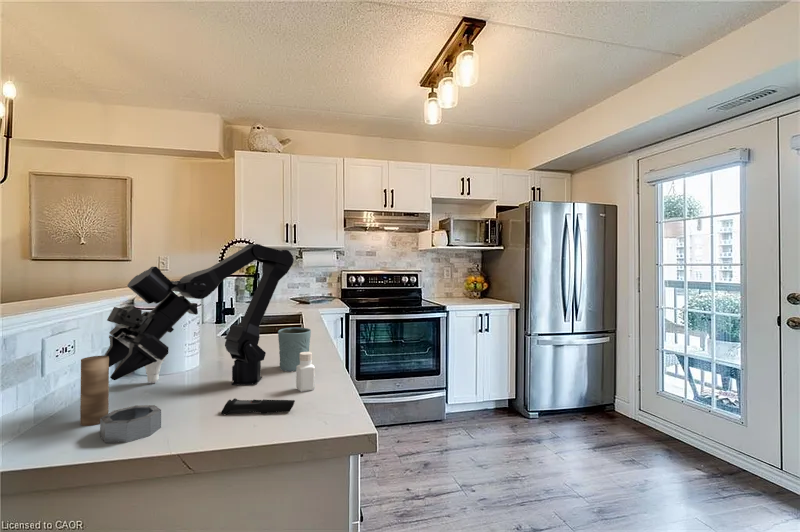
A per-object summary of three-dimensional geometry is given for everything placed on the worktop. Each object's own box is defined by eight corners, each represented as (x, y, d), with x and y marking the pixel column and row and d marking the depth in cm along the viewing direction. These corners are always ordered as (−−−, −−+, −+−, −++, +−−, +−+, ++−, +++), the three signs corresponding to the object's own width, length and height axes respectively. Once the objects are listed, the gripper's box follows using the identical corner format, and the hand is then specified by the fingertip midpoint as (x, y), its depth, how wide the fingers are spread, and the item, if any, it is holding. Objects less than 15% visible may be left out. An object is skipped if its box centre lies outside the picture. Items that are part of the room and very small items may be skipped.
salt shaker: (310, 385, 102) (310, 350, 102) (315, 390, 99) (315, 353, 99) (295, 388, 100) (295, 352, 100) (300, 392, 96) (300, 355, 96)
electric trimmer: (292, 417, 82) (292, 402, 82) (219, 416, 82) (220, 401, 82) (296, 410, 86) (296, 396, 86) (227, 409, 85) (227, 395, 85)
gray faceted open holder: (168, 421, 78) (168, 404, 78) (141, 442, 69) (142, 422, 69) (122, 422, 77) (122, 405, 77) (89, 443, 68) (89, 423, 68)
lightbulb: (156, 386, 100) (157, 345, 100) (133, 386, 100) (134, 344, 100) (171, 380, 106) (171, 340, 106) (149, 379, 106) (150, 340, 106)
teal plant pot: (298, 362, 127) (298, 326, 127) (317, 367, 120) (317, 329, 120) (271, 368, 119) (271, 330, 119) (289, 374, 112) (290, 334, 112)
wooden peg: (113, 416, 80) (114, 355, 80) (98, 425, 76) (98, 360, 76) (91, 417, 80) (91, 355, 80) (74, 426, 75) (74, 361, 75)
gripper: (120, 291, 89) (57, 345, 80) (153, 295, 78) (83, 359, 69) (157, 321, 95) (102, 374, 86) (192, 329, 84) (133, 392, 75)
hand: (104, 374), depth 79 cm, fingers open, 9 cm apart
